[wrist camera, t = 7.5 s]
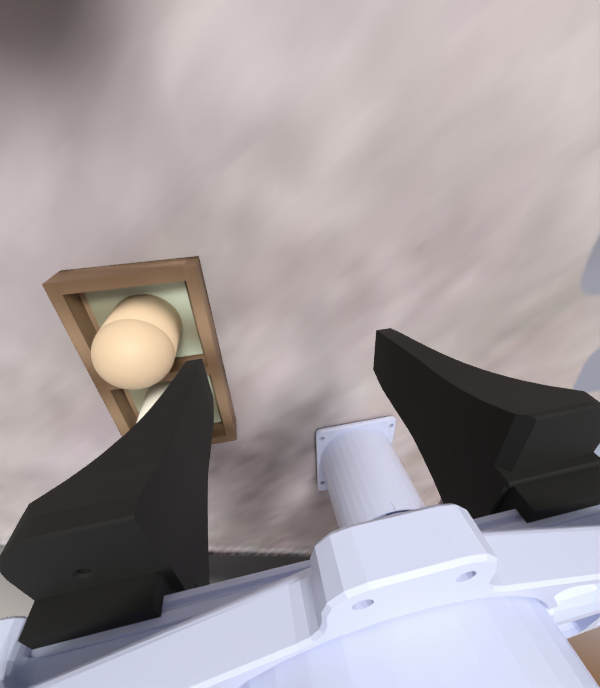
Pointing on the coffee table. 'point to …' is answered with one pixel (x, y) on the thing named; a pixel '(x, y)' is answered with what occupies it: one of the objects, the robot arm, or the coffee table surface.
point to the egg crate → (156, 279)
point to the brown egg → (137, 342)
